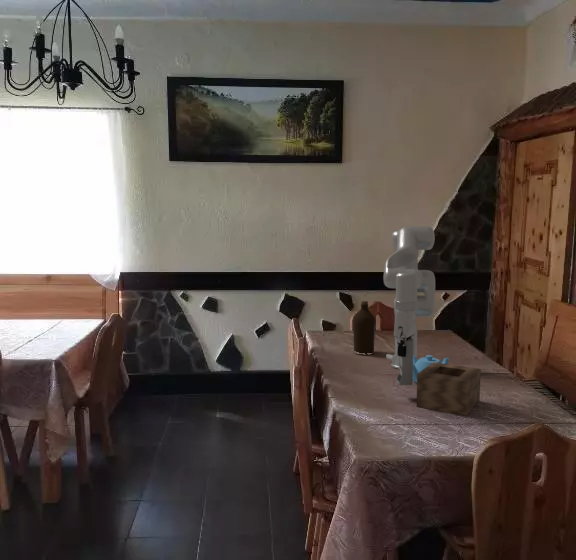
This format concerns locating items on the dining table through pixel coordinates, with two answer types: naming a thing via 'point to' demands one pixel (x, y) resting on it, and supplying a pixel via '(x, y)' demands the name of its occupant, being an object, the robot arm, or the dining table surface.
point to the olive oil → (364, 330)
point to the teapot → (424, 364)
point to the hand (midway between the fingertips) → (405, 353)
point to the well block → (448, 388)
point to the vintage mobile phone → (406, 365)
